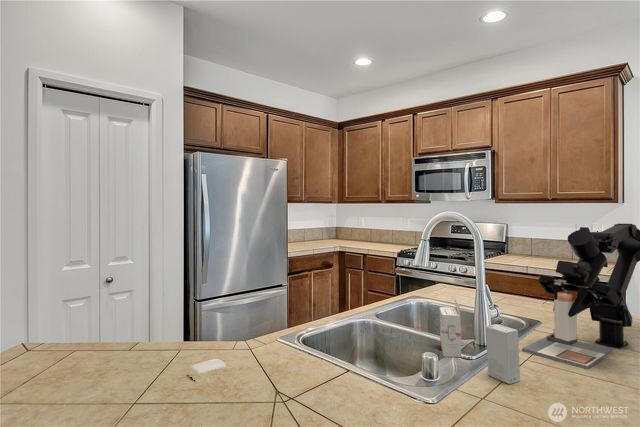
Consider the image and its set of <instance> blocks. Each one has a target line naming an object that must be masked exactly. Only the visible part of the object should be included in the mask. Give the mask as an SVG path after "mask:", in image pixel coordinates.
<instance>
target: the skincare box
mask: <svg viewBox="0 0 640 427" xmlns="http://www.w3.org/2000/svg"><path fill="white" fill-rule="evenodd" d="M485 337H486V338H485V341H486V356H487V357H486V358H487V375H488V376H490V377H492V378H493V379H496V380H498V381H502V382H503V383H506V384H507V385H511V384H515V383H519V382H520V381H521V370H520V369H521V368H520V367H521V366H520V348H519V330H517V329H515V328H512V327H508V326H505V325H502V324H501V325H500V324H499V323H496V324H491V325H486V326H485Z"/></svg>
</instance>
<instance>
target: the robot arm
mask: <svg viewBox="0 0 640 427" xmlns="http://www.w3.org/2000/svg"><path fill="white" fill-rule="evenodd" d="M567 242H568V244H569V245H570V247H571V249H572V251H573V253H574V254H575V256H576V257H577V258H578V259H577V262H573V261H565V260H558V261H557V264H556V267H555V272H556V273H559V274H560V275H562V276H561V278H562V279H563V281H562V280H561V279H560V280H559V279H558V277H556V276H554V275H548V274H541V275H540V277H539V278H538V279H537V282H538V283H539V284H540V286H541V287H542V288H543V290H544V291H545V292H546V293H548V294H551V295H553V296H554V299H553V300H558V295H557V293H558V292H569V293H575V294H577V295H576V298H575V300H573V301H574V303H573V305H572V307H571V308H570V310H569V313H568V316H569V317H573V316H574V315H576V314H577V315H578V314H581V313H582V312H583V311H586V310H587V309H589V313H590V318H591V321H593V322H594V321H595V322H598V323H599V324H598V326H599V327H598V328H599V329H598V330H599V331H598V332H599V337H598V338H597V339H595V340H594V342H595V343H597V344H600V345H605V346H609V347H613V348H618V349H623V348H624V347H625V346H627V345H628V344H629V342H628V341H626V340H624V338H625V337H624V336H625V333H624V331H625V330H624V328H628V327H629V328H631V327H633V324H632V323H633V315H632V314H631V312H630V310H629V308H628V304H627V303H626V300H625V295H626V292H627V290H628V288H629V284H630V283H631V279H632V277H633V274H634V272H635V268H636V266H637V263H639V262H640V229H639V228H638V227H637V225H636V224H633V223H615V224H614V225H613V226H611V227H609V228H606V229H605V230H603V231H591V230H590V228H589V227H585V226H581V227H579V229H578V230H575V231H573V232H570V234H568V236H567ZM615 251H616V252H617V253H618V256H617V259H616V262H615V264H614V267H613V269H612V271H611V274H610V276H609V279H608V282H607V284H605V283H599V282H600V281H601V279H600V278H599V275H600V273H601V272H602V270H603V269H604V268H608V265H609V264H608V262H607V260H608V258H607V257H606V255H605V254H613V253H614V252H615ZM564 281H565V282H564ZM552 311H553V312H554V308H553V310H552Z"/></svg>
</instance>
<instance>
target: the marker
mask: <svg viewBox="0 0 640 427" xmlns="http://www.w3.org/2000/svg"><path fill="white" fill-rule="evenodd" d="M557 295H558V300H554V299H553V300H554V301H553V309H554V311H553V315H554V316H553V317H554V329H555V337H556V338H559V339H562V340H565V341H571V340H575V339H577V337H578V329H577V328H578V325H577V324H578V323H577V321H578V319H577V318H578V317H577V316H578V314H576V315H574V316H573V317H569V316H568V313H569V310H570V308H571V307H572V305H573V303H574V301H575V300H574V299H573V296H574V294H573V292H570V291H567V292H558V293H557Z"/></svg>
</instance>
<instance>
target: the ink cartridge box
mask: <svg viewBox="0 0 640 427" xmlns="http://www.w3.org/2000/svg"><path fill="white" fill-rule="evenodd" d="M454 303H455V304H454V305H455V307H450V306H448V307H447V306H446V307H444V306H443V307H442V306H441V307H440V306H439V329H440V330H439V333H440V334H439V337H440V340H439V342H440V344H439V345H440V348H441V351H442V355H443V357H447V358H450V357H452V358H453V357H454V358H461V357H462V331H461V328H462V327H461V323H462V322H461V311H460V309H461V308H460V303H459V302H458V300H457V298H456V297H454Z"/></svg>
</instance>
